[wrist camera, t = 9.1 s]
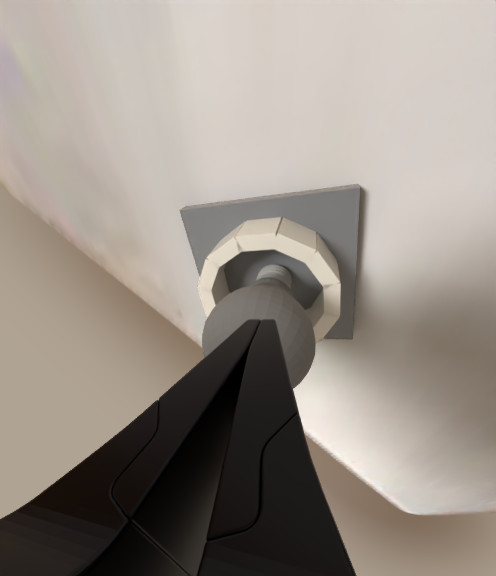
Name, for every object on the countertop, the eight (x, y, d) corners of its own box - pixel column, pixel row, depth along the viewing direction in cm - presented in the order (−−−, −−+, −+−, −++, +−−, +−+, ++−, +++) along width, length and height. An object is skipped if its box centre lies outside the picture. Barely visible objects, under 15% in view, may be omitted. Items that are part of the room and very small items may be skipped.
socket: (357, 184, 16) (368, 200, 13) (351, 331, 22) (357, 367, 19) (185, 206, 19) (158, 223, 16) (220, 329, 25) (206, 359, 22)
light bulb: (310, 312, 21) (307, 437, 12) (238, 303, 22) (191, 413, 14) (320, 242, 17) (325, 350, 9) (235, 237, 19) (171, 327, 10)
